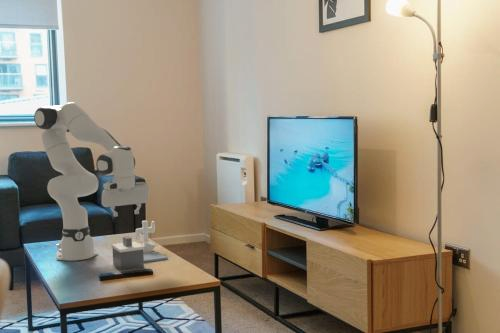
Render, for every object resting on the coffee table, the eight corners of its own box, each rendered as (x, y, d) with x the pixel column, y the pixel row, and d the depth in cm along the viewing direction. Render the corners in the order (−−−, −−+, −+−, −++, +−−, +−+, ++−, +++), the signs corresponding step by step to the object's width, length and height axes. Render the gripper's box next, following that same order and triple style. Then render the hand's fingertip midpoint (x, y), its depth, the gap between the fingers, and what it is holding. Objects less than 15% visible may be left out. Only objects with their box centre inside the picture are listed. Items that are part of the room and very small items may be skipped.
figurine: (134, 251, 319) (133, 220, 317) (153, 249, 323) (152, 218, 321) (138, 254, 312) (137, 222, 311) (157, 251, 316) (156, 220, 315)
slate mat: (132, 256, 307) (132, 254, 307) (157, 253, 313) (157, 251, 313) (142, 263, 295) (142, 260, 295) (167, 259, 300) (167, 257, 300)
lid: (111, 250, 292) (111, 236, 292) (135, 247, 297) (134, 233, 297) (120, 255, 281) (119, 241, 281) (144, 252, 286) (143, 238, 286)
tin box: (113, 265, 293) (112, 247, 292) (135, 261, 298) (134, 244, 297) (121, 270, 282) (120, 252, 282) (144, 267, 287) (143, 249, 286)
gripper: (145, 180, 294) (146, 211, 295) (99, 184, 284) (101, 216, 286) (150, 181, 288) (151, 213, 290) (103, 186, 279) (105, 218, 280)
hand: (126, 215), depth 288 cm, fingers open, 8 cm apart
